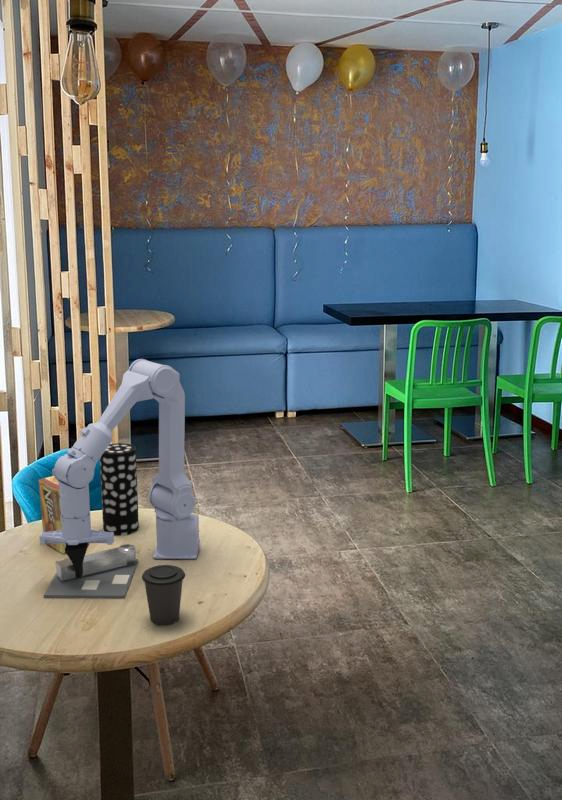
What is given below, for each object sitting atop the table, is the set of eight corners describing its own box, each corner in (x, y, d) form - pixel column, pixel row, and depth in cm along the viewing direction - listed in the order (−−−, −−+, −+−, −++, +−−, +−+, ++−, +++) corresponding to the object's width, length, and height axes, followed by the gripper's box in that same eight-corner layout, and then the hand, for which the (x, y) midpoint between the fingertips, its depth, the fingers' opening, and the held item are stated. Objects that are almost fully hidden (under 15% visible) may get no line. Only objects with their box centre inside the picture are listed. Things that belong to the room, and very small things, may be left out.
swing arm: (131, 556, 186) (131, 543, 185) (138, 562, 183) (138, 548, 182) (56, 574, 177) (55, 560, 176) (62, 581, 174) (61, 567, 173)
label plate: (138, 561, 185) (138, 558, 185) (124, 598, 169) (124, 594, 169) (64, 561, 185) (64, 557, 185) (43, 597, 169) (43, 594, 169)
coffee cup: (141, 610, 164) (139, 562, 162) (183, 606, 166) (182, 559, 164) (144, 631, 157) (142, 581, 154) (188, 627, 158) (187, 577, 156)
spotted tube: (100, 524, 205) (96, 445, 200) (135, 520, 208) (132, 441, 203) (106, 537, 198) (102, 455, 193) (142, 533, 201) (139, 451, 196)
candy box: (78, 549, 192) (75, 484, 188) (61, 554, 189) (57, 489, 185) (58, 537, 198) (54, 474, 194) (41, 542, 195) (37, 479, 191)
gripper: (33, 521, 167) (38, 584, 170) (108, 521, 167) (111, 584, 170) (43, 507, 174) (47, 569, 177) (114, 507, 174) (117, 569, 177)
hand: (79, 575), depth 174 cm, fingers closed
